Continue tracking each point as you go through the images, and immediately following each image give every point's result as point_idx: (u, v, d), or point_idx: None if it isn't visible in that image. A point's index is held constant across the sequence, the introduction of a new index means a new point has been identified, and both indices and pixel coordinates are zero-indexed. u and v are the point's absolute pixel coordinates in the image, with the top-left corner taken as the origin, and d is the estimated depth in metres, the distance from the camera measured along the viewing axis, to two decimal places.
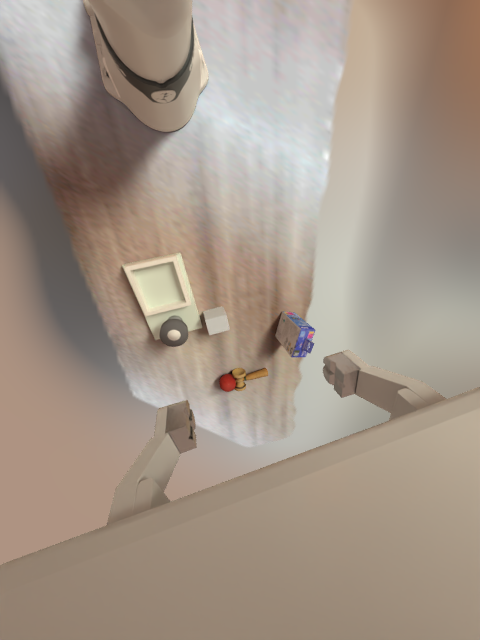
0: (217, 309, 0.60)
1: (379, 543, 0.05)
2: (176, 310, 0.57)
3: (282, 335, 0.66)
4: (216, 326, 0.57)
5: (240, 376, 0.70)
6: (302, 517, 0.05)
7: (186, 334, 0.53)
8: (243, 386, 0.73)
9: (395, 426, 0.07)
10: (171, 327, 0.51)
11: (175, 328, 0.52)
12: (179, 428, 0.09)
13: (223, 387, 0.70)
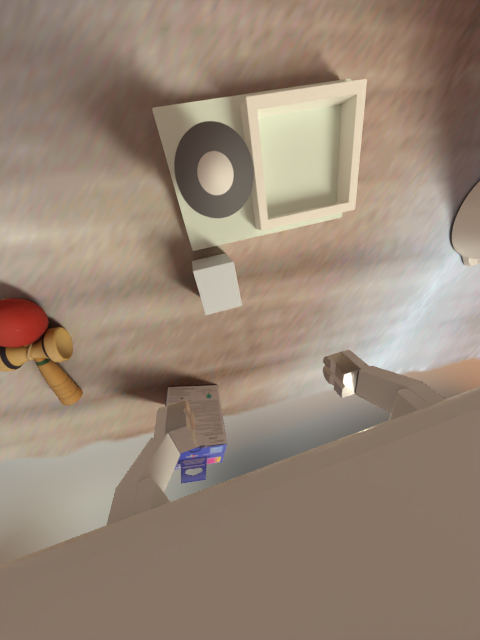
0: None
1: (379, 543, 0.05)
2: None
3: None
4: (216, 286, 0.26)
5: (54, 354, 0.26)
6: (301, 517, 0.05)
7: (215, 213, 0.19)
8: (13, 366, 0.26)
9: (396, 426, 0.07)
10: (241, 170, 0.18)
11: (237, 182, 0.19)
12: (179, 428, 0.09)
13: None
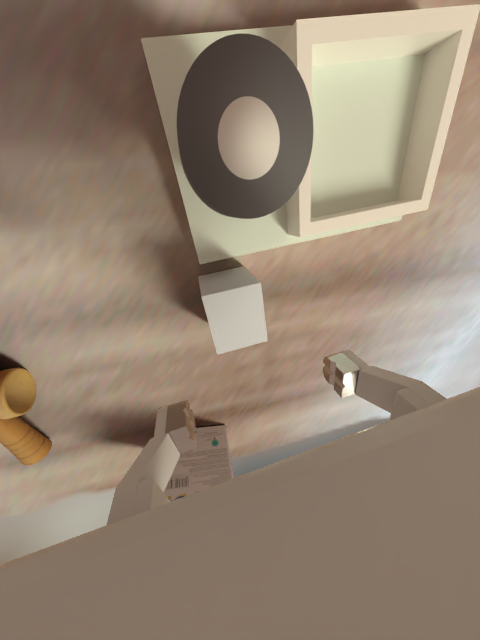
0: None
1: (379, 543, 0.05)
2: None
3: (182, 457, 0.28)
4: (234, 316, 0.18)
5: (2, 411, 0.19)
6: (301, 518, 0.05)
7: (244, 210, 0.12)
8: None
9: (395, 426, 0.07)
10: (292, 137, 0.11)
11: (283, 158, 0.11)
12: (179, 428, 0.09)
13: None
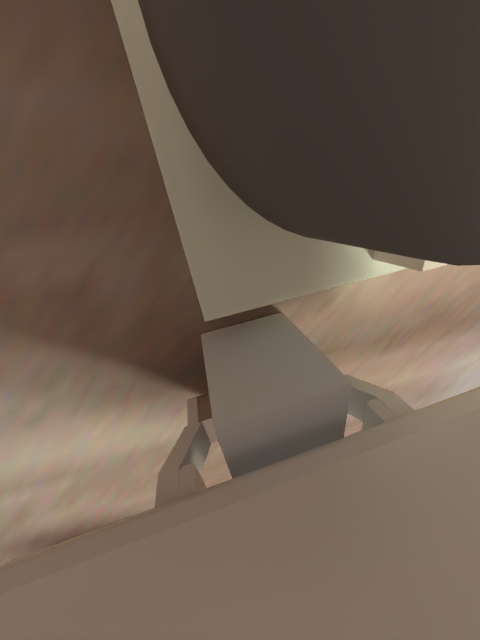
0: None
1: (379, 543, 0.05)
2: None
3: None
4: (283, 447, 0.08)
5: None
6: (302, 517, 0.05)
7: None
8: None
9: (396, 426, 0.07)
10: None
11: None
12: None
13: None
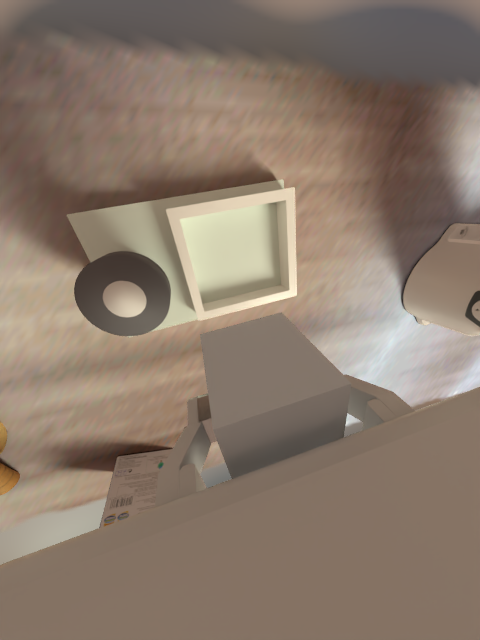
0: None
1: (379, 543, 0.05)
2: (174, 282, 0.24)
3: (130, 479, 0.34)
4: (283, 448, 0.08)
5: None
6: (301, 518, 0.05)
7: (131, 332, 0.18)
8: None
9: (396, 426, 0.07)
10: (154, 294, 0.17)
11: (151, 304, 0.18)
12: None
13: None
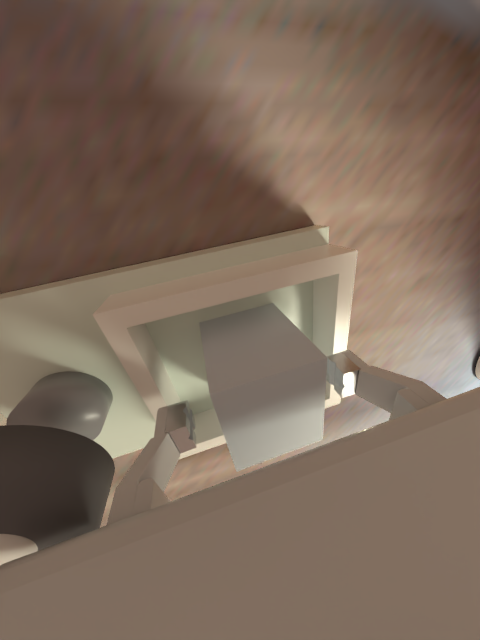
0: None
1: (379, 543, 0.05)
2: (137, 397, 0.14)
3: None
4: (271, 416, 0.09)
5: None
6: (301, 517, 0.05)
7: None
8: None
9: (395, 426, 0.07)
10: (53, 532, 0.07)
11: (51, 545, 0.08)
12: (179, 428, 0.09)
13: None
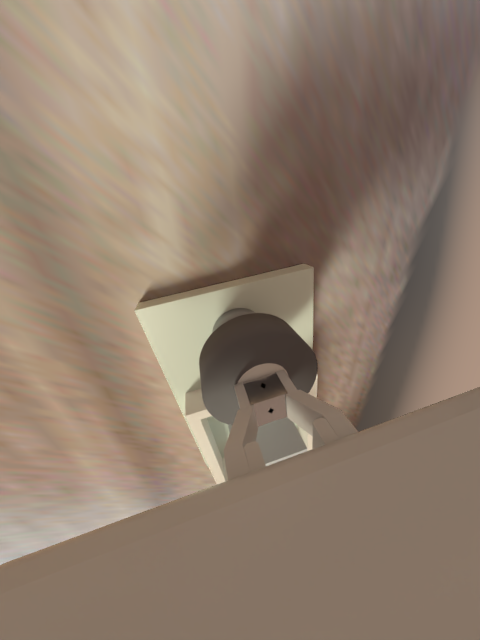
0: None
1: (379, 543, 0.05)
2: None
3: None
4: None
5: None
6: (302, 517, 0.05)
7: (209, 392, 0.11)
8: None
9: (396, 426, 0.07)
10: None
11: None
12: (263, 401, 0.10)
13: None
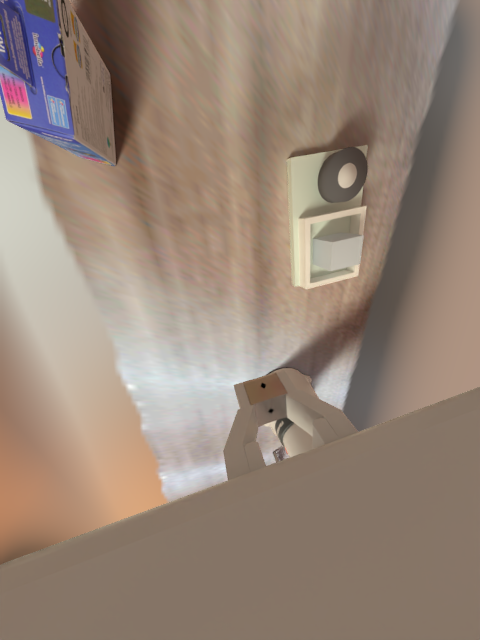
0: None
1: (379, 543, 0.05)
2: (320, 204, 0.37)
3: (99, 85, 0.23)
4: (349, 251, 0.36)
5: None
6: (302, 518, 0.05)
7: (330, 173, 0.31)
8: None
9: (396, 426, 0.07)
10: (345, 193, 0.33)
11: (341, 190, 0.32)
12: (263, 401, 0.10)
13: None
